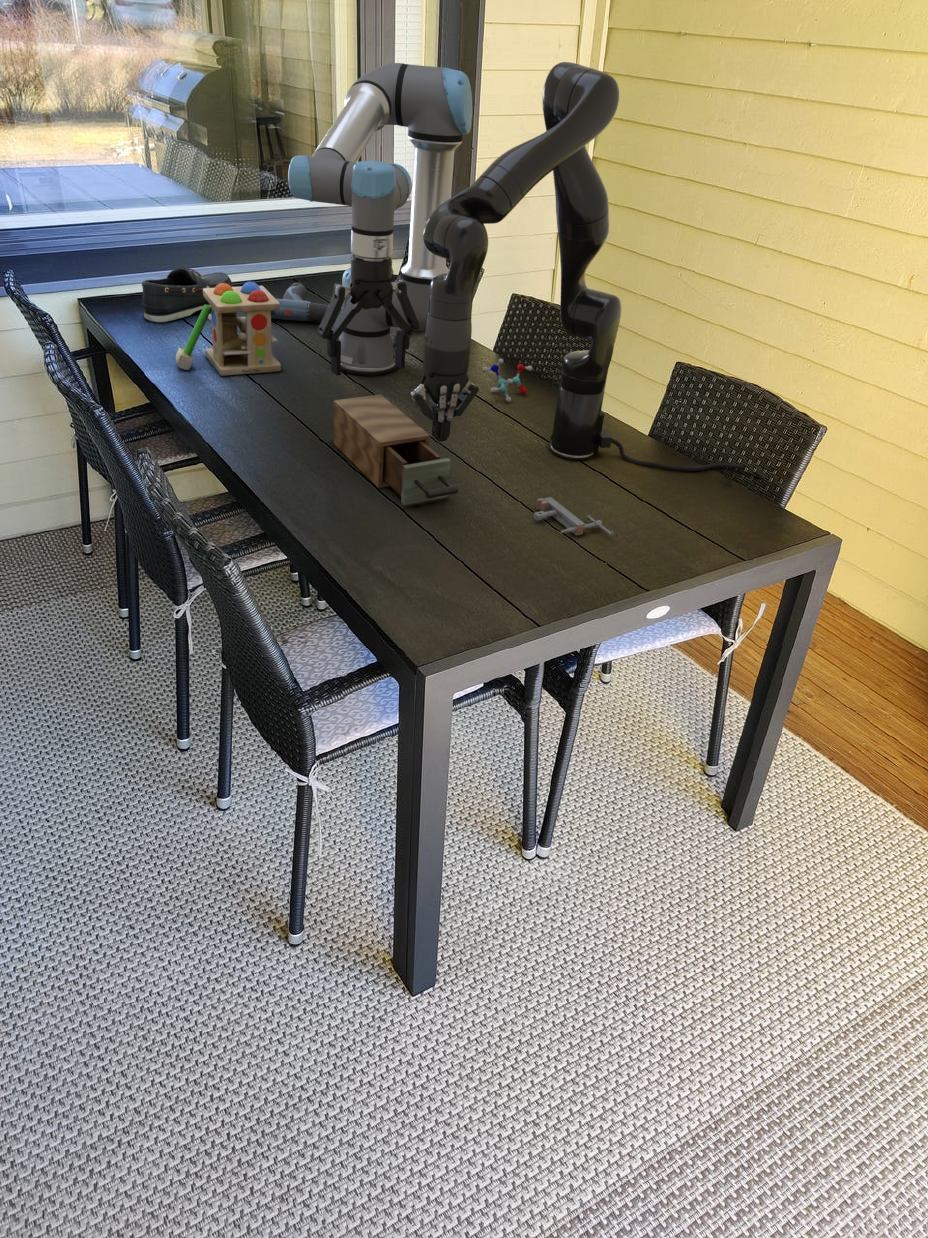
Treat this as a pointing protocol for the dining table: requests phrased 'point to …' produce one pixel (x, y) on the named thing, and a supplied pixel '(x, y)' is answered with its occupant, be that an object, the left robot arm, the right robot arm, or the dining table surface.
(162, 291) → the boat shoe
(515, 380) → the molecular model
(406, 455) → the drawer
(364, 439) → the cabinet
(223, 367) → the pounding bench toy
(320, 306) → the power drill
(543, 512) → the clamp
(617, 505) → the dining table surface
